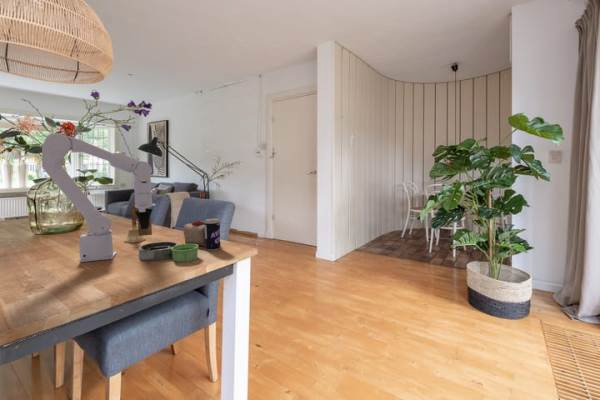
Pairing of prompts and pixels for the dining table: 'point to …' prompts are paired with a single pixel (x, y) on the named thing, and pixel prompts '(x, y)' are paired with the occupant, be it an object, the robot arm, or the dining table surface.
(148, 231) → the tan wooden block
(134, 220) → the hand bell
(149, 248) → the grey metal bowl
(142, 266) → the dining table surface
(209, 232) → the beverage can
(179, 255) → the ramekin
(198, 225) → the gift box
